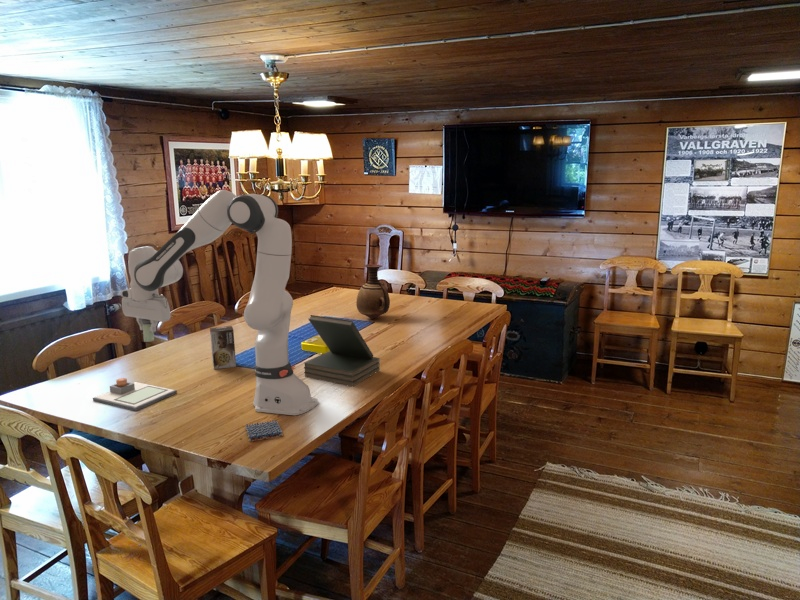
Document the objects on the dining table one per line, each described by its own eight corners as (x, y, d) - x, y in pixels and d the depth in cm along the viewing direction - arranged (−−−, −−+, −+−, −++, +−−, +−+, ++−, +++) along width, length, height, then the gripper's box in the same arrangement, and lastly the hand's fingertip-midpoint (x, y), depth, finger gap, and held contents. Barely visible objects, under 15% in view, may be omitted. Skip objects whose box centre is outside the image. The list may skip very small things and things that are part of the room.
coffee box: (234, 362, 243) (232, 325, 240) (236, 366, 237) (234, 329, 234) (212, 364, 240) (209, 327, 237) (213, 369, 234) (210, 331, 231)
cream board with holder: (176, 392, 209) (176, 383, 208) (135, 410, 193) (134, 401, 192) (135, 384, 218) (134, 375, 217) (93, 400, 202) (92, 391, 201)
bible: (379, 372, 232) (379, 312, 226) (352, 387, 215) (351, 323, 210) (333, 363, 243) (331, 306, 237) (304, 377, 226) (301, 316, 220)
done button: (129, 384, 208) (128, 379, 208) (121, 387, 205) (120, 382, 205) (122, 383, 210) (122, 377, 209) (114, 386, 207) (114, 380, 206)
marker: (156, 339, 206) (154, 318, 204) (148, 342, 202) (146, 320, 201) (149, 338, 207) (147, 317, 205) (141, 341, 204) (139, 319, 202)
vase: (353, 315, 324) (352, 263, 318) (384, 313, 329) (383, 261, 323) (362, 324, 304) (361, 268, 298) (394, 322, 309) (394, 267, 303)
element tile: (328, 356, 253) (327, 345, 252) (299, 351, 259) (299, 341, 258) (345, 347, 266) (344, 337, 265) (317, 343, 272) (317, 333, 271)
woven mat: (277, 424, 184) (277, 418, 183) (284, 438, 174) (283, 432, 174) (244, 429, 180) (243, 423, 180) (248, 444, 170) (248, 437, 170)
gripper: (173, 293, 199) (176, 332, 202) (132, 288, 208) (135, 325, 211) (158, 297, 194) (162, 336, 197) (117, 291, 203) (120, 329, 205)
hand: (148, 330), depth 204 cm, fingers closed on marker, 3 cm apart
